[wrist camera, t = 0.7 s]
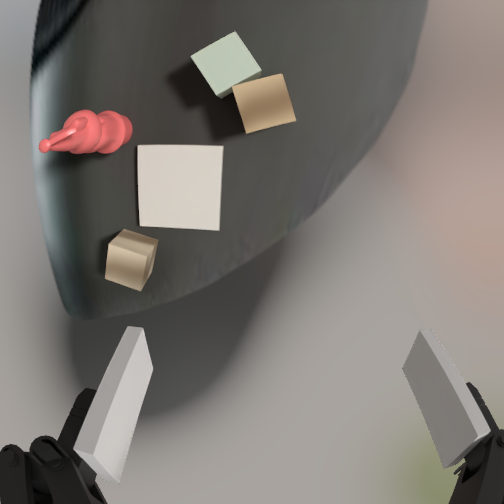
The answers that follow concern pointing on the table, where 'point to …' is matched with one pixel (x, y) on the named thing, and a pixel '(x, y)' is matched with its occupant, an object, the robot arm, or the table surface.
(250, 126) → the oak block
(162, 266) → the table surface
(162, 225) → the coaster
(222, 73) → the sage block
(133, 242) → the maple block
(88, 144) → the figurine
